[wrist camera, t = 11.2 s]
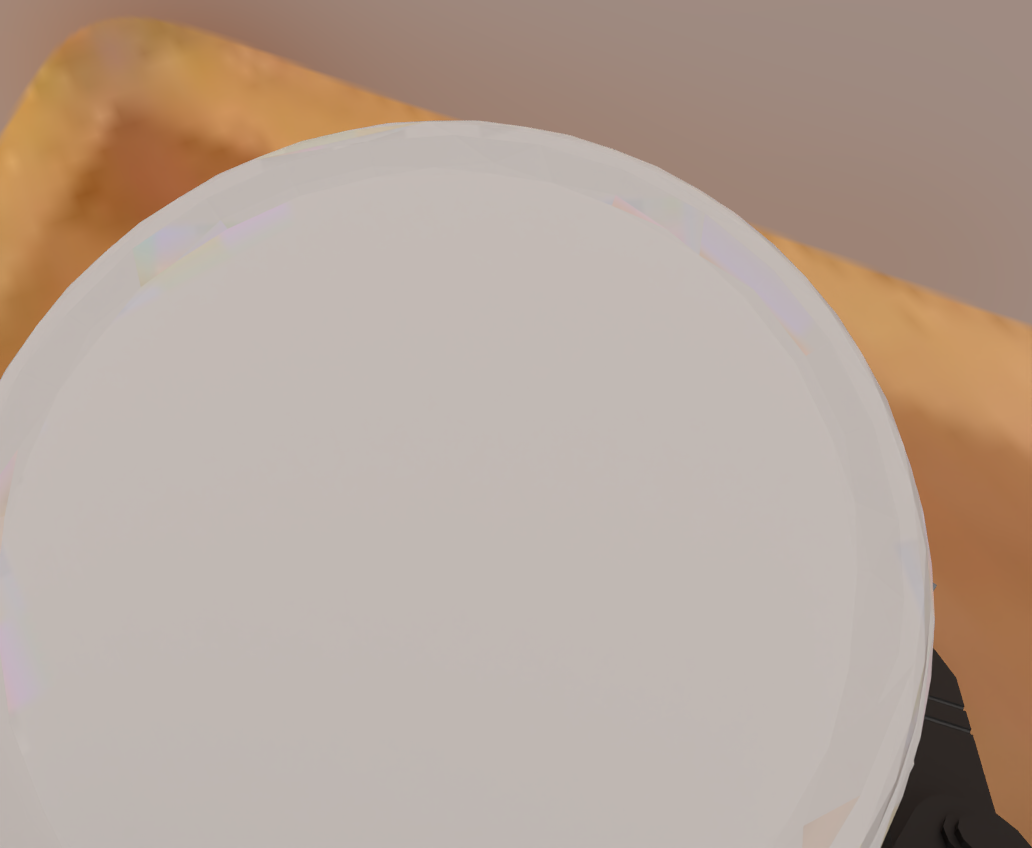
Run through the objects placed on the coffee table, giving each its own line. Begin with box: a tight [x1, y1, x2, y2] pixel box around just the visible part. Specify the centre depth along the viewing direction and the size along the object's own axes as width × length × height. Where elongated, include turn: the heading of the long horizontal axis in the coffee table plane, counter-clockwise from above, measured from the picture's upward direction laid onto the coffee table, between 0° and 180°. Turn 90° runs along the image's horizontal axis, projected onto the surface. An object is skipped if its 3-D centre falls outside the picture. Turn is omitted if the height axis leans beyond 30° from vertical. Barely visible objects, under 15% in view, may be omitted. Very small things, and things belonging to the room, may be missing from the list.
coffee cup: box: [0, 121, 935, 848], centre depth 13 cm, size 9×9×12 cm
